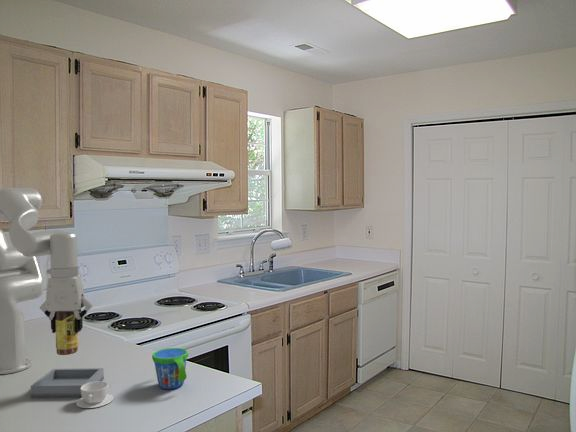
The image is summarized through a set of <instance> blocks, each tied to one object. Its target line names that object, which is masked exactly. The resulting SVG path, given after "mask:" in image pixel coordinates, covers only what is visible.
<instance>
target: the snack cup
mask: <svg viewBox="0 0 576 432" xmlns="http://www.w3.org/2000/svg"><path fill="white" fill-rule="evenodd" d="M188 357H189V352H188V350H187V349H184V348H182V347H181V348H179V347H170V348H169V347H168V348H163V349H160V350H157V351H155V352H154V353H152V355H151V360H152V362H154V363H153V364H154V368H155V375H156V379H157V383H158V387H159V388H161V389H163V390H174V389H178V388H180V387H182V386H183V385H184V382H185V380H186V378H187V371H186V367H187V366H186V365H187V359H188Z"/></svg>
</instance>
